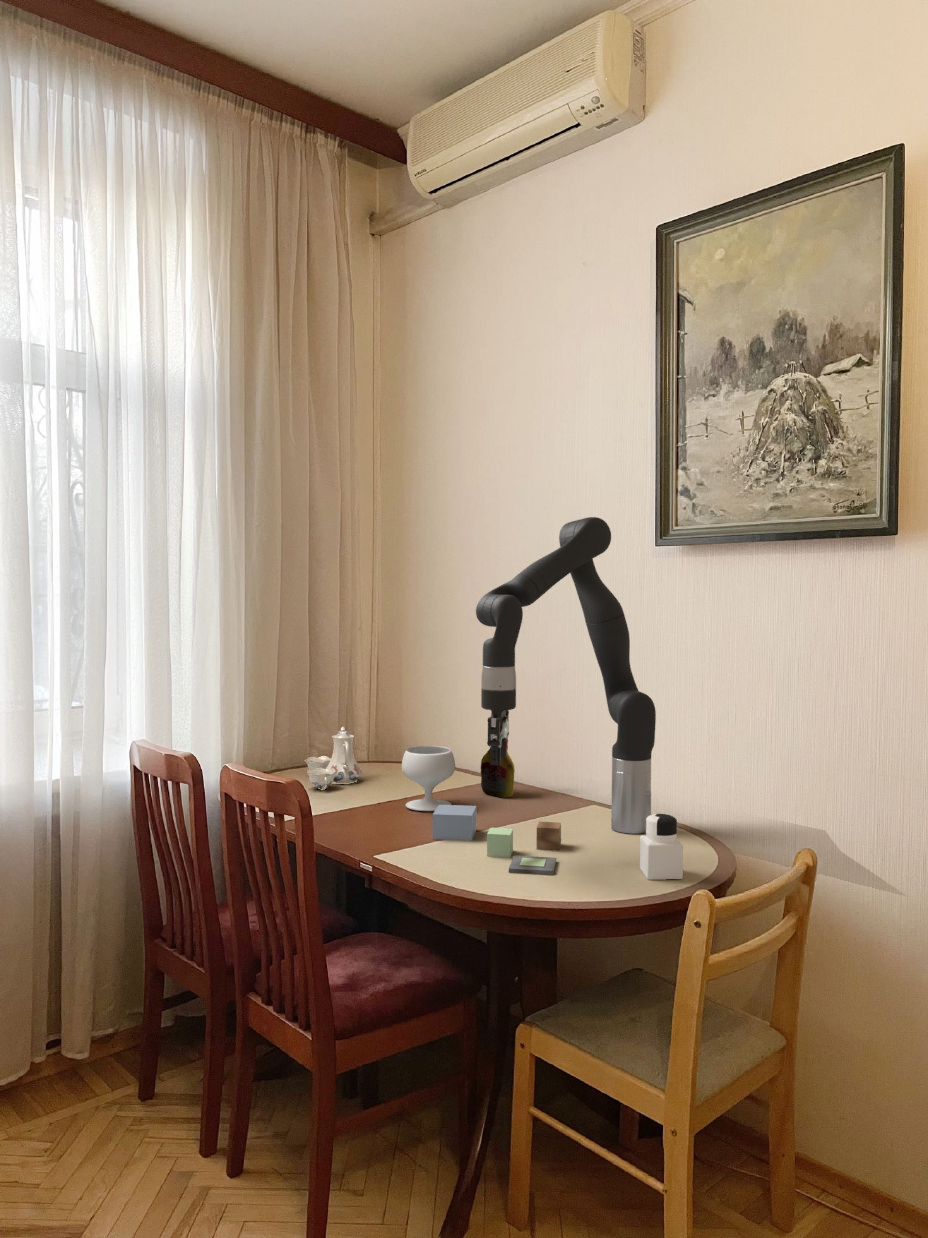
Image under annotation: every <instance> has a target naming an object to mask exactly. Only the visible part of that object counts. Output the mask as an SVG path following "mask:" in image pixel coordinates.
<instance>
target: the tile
mask: <svg viewBox="0 0 928 1238" xmlns="http://www.w3.org/2000/svg"><path fill="white" fill-rule="evenodd" d="M556 864H557V857H550V856H547V857H546V856H532V855H530V856H529V855H515V854H514V855H513V858H512V859H511V862H510V865H509V867H508V873H511V874H512V873H517V874H531V875H532V874H534V875H545V876H546V875H548V876H550V875H551V876H554V872H555V868H556Z"/></svg>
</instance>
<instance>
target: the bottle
mask: <svg viewBox="0 0 928 1238" xmlns="http://www.w3.org/2000/svg"><path fill="white" fill-rule="evenodd" d="M493 740H496V738H494V739H493ZM505 741H506V757H505V758H501V763H500V765H491V764H490V748H489V749H488V750H487V751H486V753H485V754H483V756H482V758H481V760H480V777H481V779H480V786H481V789H482V791H483V793H485V794H486V795H487V794H488V795H492V796H495V797H498V798H504V799H505V798H510V797H512V796H513V794H514V785H515V770H516V769H515V764H514V762H513V758H511V756H510V755H509V752H508V751H509V750H508V748H509V738H508V739H507V740H505Z"/></svg>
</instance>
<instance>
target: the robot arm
mask: <svg viewBox="0 0 928 1238" xmlns="http://www.w3.org/2000/svg"><path fill="white" fill-rule="evenodd" d="M558 540H559V542H558V543H559V548H557V549H554V550H553V551H552V552H550V553H548V554H546V555H545V556H543V557H541V558H539V559H537V560H535V561H533V562H532V563H531V564H529V565H527V567H525V568H524V569H523V570H521V572H519V573H517V575H515V576H514V577H513V578H512V579H510V580H509V581H507V582H505V583H503V584H501V585H499V586H497V587H495V588H494V589H492V590H490V591H488V592H487V593H486V594H484V595H482V596H481V598H480V599H479V601H478V603H477V604H476V607H475V616H476V618H477V620H478V622H479V623H480V624H482V625H483V626H485V627H492V628H493V627H494V628H495V630H494V633H493V634H494V635H493V636H492V637H491V638H488V639H486V640H485V641H484V642H483V644H482V671H481V677H480V678H481V679H480V680H481V681H480V683H481V685H480V686H481V692H480V693H481V694H480V695H481V698H480V699H481V704H480V705H481V708H482V710H487V711H491V713H490V716H489V717H487V720H486V721H487V742H486V743H487V746H488V747H489V749H490V764H491V765H500V763H501V758H505V757H506V741H505V740H507V739H508V740H509V735H510V732H509V731H510V730H509V728H510V727H509V726H510V725H509V721H510V718H509V713H510V711H511V710H514V709H516V707H517V672H516V645H517V642H518V638H519V634H520V630H521V627H522V623H523V615H524V611H523V608H524V607H525V608H526V607H528V606H530V605H533V604H534V603H535V602H536V601H537V600H539V599H540V598H542V596H543V595H545V594H546V593H547V592H548V591H549V590H550V589H552V587H554V586H555V585H556V584H557V583H560V581H561V580H563V579H564V578H565V577H567V576H568V575H569V574H570V576H571V578H572V581H573V585H574V587H575V590H576V594H577V596H578V599H579V603H580V606H581V610H582V613H583V617H584V620H585V622H584V623H585V626H586V627H587V633H588V636H589V638H590V642H591V645H592V647H593V652H594V654H595V658H596V660H597V664H598V667H599V669H600V673H601V677H602V681H603V686H604V687H603V688H604V692H605V697H606V703H607V708H608V709H607V710H608V713H609V716H610V718H611V719H612V721H614V723H616V724H617V735H616V736H617V737H616V741H615V743H614V744H613V745H612V747H611V806H610V808H611V816H610V817H611V818H610V823H611V824H610V827H611V829H612V830H614V831H615V832H618V833H621V834H622V833H624V834H633V835H634V834H635V835H636V834H637V835H638V834H646V818H647V817H648V816H650V815H652V752H653V749H654V746H655V743H656V742H655V741H656V739H655V738H656V737H655V736H656V722H657V720H656V719H657V717H656V716H657V715H656V714H657V713H656V711H657V710H656V707H655V702H654V700H653V699H652V698H651V697H650V696H649V695H648V694H646V693H644V692H642V691H639V689H638V686H637V684H636V681H635V677H634V675H633V672H632V668H631V662H630V661H631V660H630V659H631V657H630V656H631V655H630V654H631V653H630V650H631V647H630V646H631V644H630V642H631V641H630V631H629V626H628V623H627V619H626V615H625V612H624V609H623V606H622V605H621V603H620V602H619V600H618V598H617V597H616V596H615V595H614V593H612V591H611V590H610V589H609V588H608V587H607V586H606V584H605V583H604V582H603V581H602V579H601V577H600V575H599V574H598V572H597V569H596V566H595V563H594V562H595V561H594V560H593V559H594V558H596V557H598V556H600V555H602V554H603V553H605V552H606V551H607V550H608V549H609V546H610V544H611V542H612V532H611V528H610V526H609V524H608V523H607V522H606V521H605V520H604V519H602V518H600V517H597V516H596V517H595V516H588V517H584V518H580V519H576V520H573V521H569V522H567V523H565V524H563V525H562V526H561V528H560V531H559V537H558ZM494 738H496V740H493V739H494Z"/></svg>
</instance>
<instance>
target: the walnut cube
mask: <svg viewBox="0 0 928 1238" xmlns="http://www.w3.org/2000/svg"><path fill="white" fill-rule="evenodd" d="M561 845H562V822H557V821H554V822H553V821H538V823H537V825H536V850H537V851H538V850H542V851H555V852H556V851H557V852H559V851H560V849H561Z"/></svg>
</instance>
